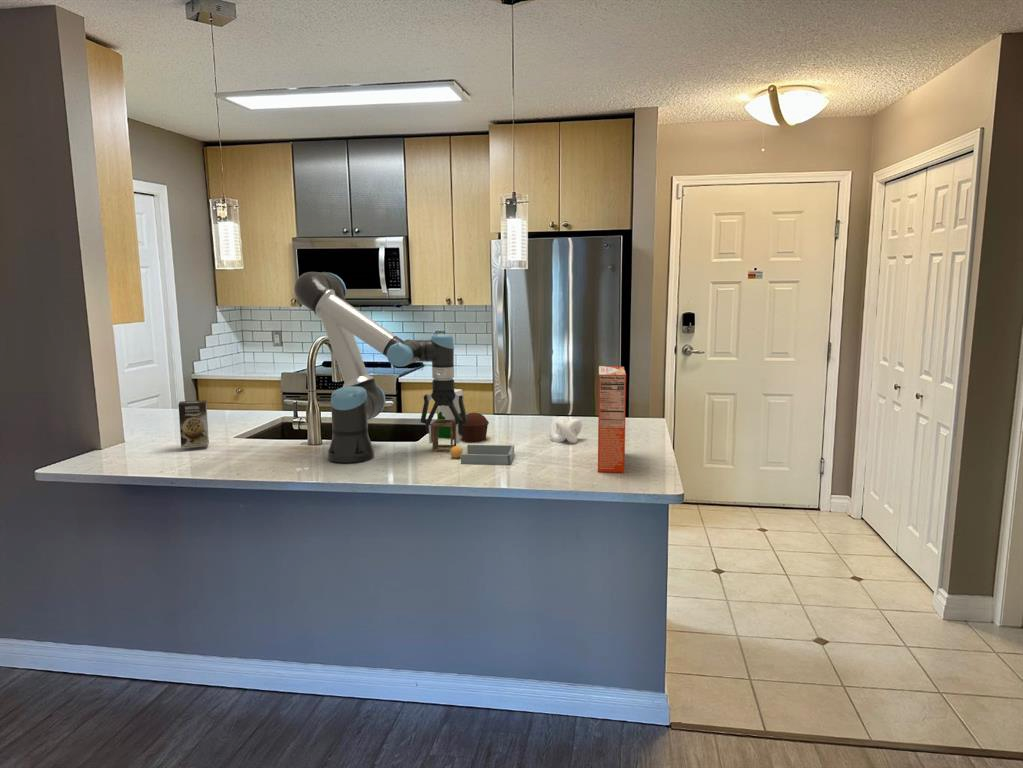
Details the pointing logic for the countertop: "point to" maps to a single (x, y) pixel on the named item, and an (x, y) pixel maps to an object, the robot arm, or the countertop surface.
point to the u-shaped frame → (476, 457)
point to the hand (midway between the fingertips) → (444, 442)
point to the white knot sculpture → (565, 429)
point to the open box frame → (435, 434)
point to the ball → (456, 452)
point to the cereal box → (611, 419)
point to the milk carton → (448, 416)
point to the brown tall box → (193, 423)
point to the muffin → (474, 428)
